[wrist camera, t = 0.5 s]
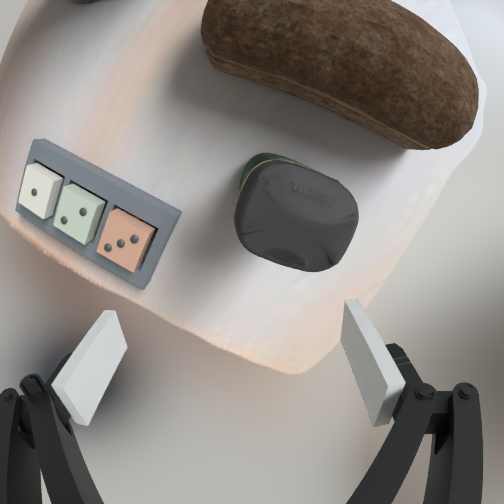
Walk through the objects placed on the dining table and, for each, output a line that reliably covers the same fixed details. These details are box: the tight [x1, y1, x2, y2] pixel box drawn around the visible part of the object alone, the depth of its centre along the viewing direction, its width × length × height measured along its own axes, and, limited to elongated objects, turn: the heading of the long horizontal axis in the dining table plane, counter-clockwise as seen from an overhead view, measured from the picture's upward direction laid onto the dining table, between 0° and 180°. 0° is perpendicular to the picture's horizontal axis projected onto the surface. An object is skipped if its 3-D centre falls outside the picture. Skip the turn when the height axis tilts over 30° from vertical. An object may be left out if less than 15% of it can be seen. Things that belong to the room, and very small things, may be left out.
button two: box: [53, 184, 105, 245], centre depth 35 cm, size 6×6×3 cm
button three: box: [96, 208, 155, 273], centre depth 36 cm, size 6×6×3 cm
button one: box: [18, 163, 63, 219], centre depth 33 cm, size 6×6×3 cm
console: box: [15, 139, 182, 290], centre depth 37 cm, size 26×12×3 cm, turn 60°
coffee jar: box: [234, 153, 359, 272], centre depth 29 cm, size 10×8×19 cm
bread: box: [201, 0, 479, 150], centre depth 24 cm, size 15×32×16 cm, turn 70°
